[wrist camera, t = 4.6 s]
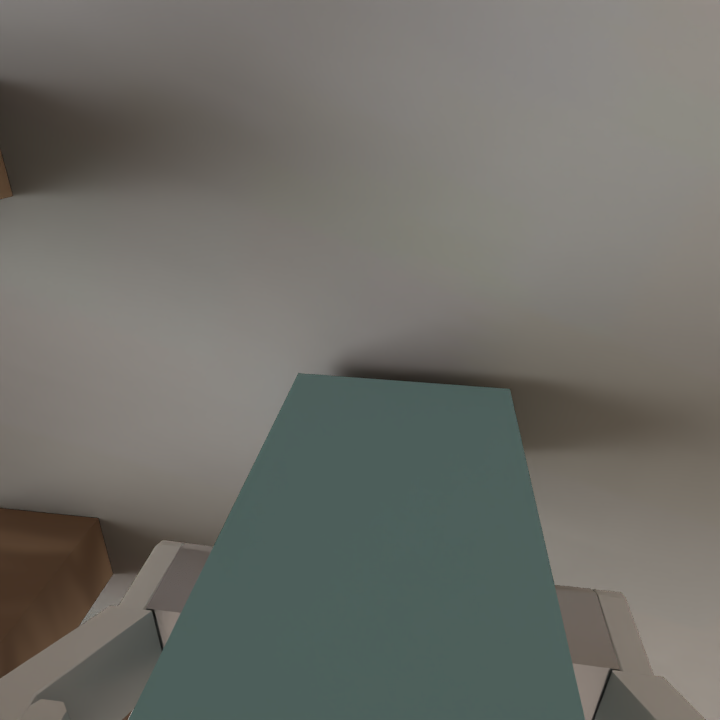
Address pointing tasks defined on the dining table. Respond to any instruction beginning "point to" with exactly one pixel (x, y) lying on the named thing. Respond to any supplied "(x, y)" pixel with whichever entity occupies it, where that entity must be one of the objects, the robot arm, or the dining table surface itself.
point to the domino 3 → (375, 571)
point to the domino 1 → (4, 181)
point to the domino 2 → (46, 579)
